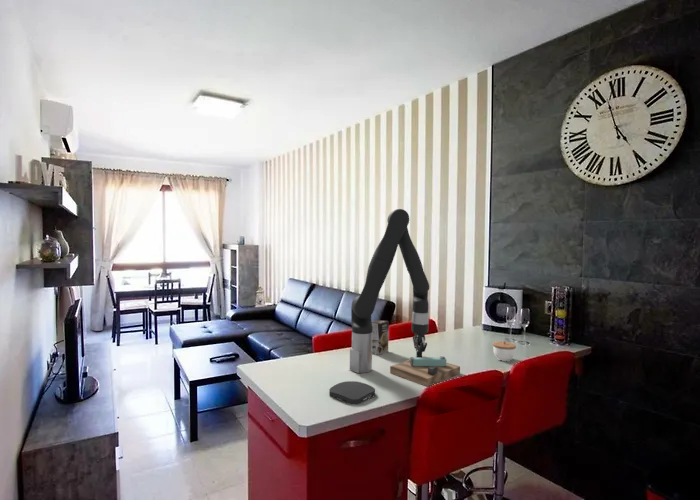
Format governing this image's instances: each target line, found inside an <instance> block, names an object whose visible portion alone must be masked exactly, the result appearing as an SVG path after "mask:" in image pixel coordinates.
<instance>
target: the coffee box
mask: <svg viewBox="0 0 700 500" xmlns="http://www.w3.org/2000/svg"><path fill="white" fill-rule="evenodd" d="M372 327H373V330H372V355H377V356H380V355H383V354H384V353H387V351H388V352H389V338H390V337H389V334H390V333H389V330H390V321H388V320H381V319H377V320H374V321H372Z"/></svg>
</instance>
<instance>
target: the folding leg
mask: <svg viewBox="0 0 700 500" xmlns="http://www.w3.org/2000/svg"><path fill="white" fill-rule="evenodd" d="M409 359H410V365H411V366H446V363H447V358H446V357H445V356H441V355H439V356H437V357H431V356H426V357H416V356H414V357H413V356H411V357H410V358H409Z"/></svg>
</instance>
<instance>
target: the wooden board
mask: <svg viewBox="0 0 700 500" xmlns="http://www.w3.org/2000/svg"><path fill="white" fill-rule="evenodd" d="M422 357H427V356H426V355H422ZM389 369H390V371H389V374H392V375H395V376H397V375H398V377H401V378H403V379H406V380H408V379H409V380H408V381H411V382H414V383H417V384H419V383H420V385H423V386H425V387H428V386H431V385H434V384H437V383H438V382H442V381H444V380H446V379H449V378H451V377H455V376H457V375H459V374H460V373H461V366H459V365H456V364H452V363H449V362H446V366H411V365H410V360H409V359H408V360H407V361H402V362H400V363H397V364H392V365H390V366H389ZM436 382H437V383H436ZM433 383H434V384H433Z"/></svg>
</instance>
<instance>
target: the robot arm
mask: <svg viewBox="0 0 700 500" xmlns="http://www.w3.org/2000/svg"><path fill="white" fill-rule="evenodd" d="M386 220H387V226H386V228H385V232H384V235H383V236H382V238H381V240H380V242H379V243H378V245H377V247H376V249H375V251H374V252H373V255H372V257H371V260H370V262H369V265H368V267H367V272H366V277H365V283H364V285H363V288H362V290H361V292H360V294H359V295H357V296H355V298H354V299H352V302H351V316H350V317H351V318H350V319H351V320H350V321H351V348H350V349H349V371H352V372H354V373H357V374H364V373H370V372H372V371H373V369H372V368H373V365H372V364H373V353H372V330H373V327H372V322H373V321H372V315H373V313H374V311H375V308H376V305H377V301H378V298H379V294H380V292H381V289H382V287H383V285H384V283H385V281H386V279H387V275H388V274H389V272H390V270H391V266H392V265H393V261H394V259H395V256H396V253H397V250H398V247H399V249H400V252H401V256H402V259H403V261H404V265H405V268H406V271H407V272H408V274H409V277H410V282H411V284H412V297H413V299H412V314H411V333H413V334H414V335H413V336H412V341H413V346H414V349H415V351H416V356H415V357H422V356H423V353H425V351H426V348H427V346H428V343H427V342H426V336H425V335H426V334H428V333H429V325H430V324H429V319H430V315H429V301H428V299H429V298H428V297H429V290H430V283H429V280H428V278H427V275H426V274H425V271H424V267H423V264H422V260H421V258H420V255H419V253H418V251H417V249H416V247H415V245H414V243H413V241H412V238H411V236H410V233H409V229H408V227H409V226H408V225H409V223H410V215H409V213H408V211H406V210H405V209H403V208H398V209H395V210H393V211H391V212H390V213H389V214H388V216H387V219H386Z"/></svg>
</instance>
